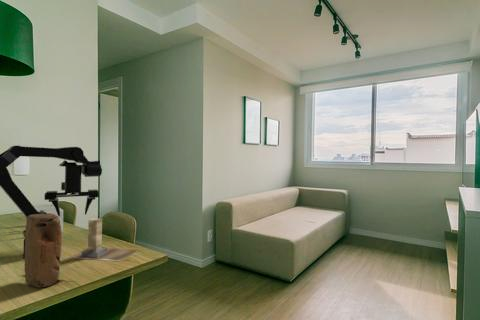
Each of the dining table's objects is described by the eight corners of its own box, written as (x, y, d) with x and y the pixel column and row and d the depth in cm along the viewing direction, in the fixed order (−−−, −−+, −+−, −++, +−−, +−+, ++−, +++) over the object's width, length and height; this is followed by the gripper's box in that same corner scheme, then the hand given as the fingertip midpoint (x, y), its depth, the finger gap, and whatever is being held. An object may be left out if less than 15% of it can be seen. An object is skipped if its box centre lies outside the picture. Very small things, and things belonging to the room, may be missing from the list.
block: (22, 280, 82) (23, 214, 82) (51, 272, 88) (52, 210, 88) (33, 292, 75) (34, 220, 75) (64, 283, 81) (65, 215, 81)
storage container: (62, 233, 132) (63, 210, 132) (34, 237, 125) (35, 213, 125) (52, 223, 151) (53, 203, 150) (27, 226, 143) (28, 205, 143)
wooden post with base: (81, 257, 98) (82, 220, 98) (92, 251, 104) (93, 217, 104) (97, 258, 97) (98, 221, 97) (107, 252, 103) (107, 218, 103)
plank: (67, 262, 97) (67, 257, 97) (89, 250, 109) (89, 246, 109) (121, 265, 95) (121, 261, 95) (137, 253, 107) (137, 249, 107)
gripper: (97, 175, 124) (96, 210, 124) (47, 176, 115) (46, 213, 115) (99, 177, 115) (98, 214, 115) (44, 178, 105) (44, 219, 105)
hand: (72, 215), depth 113 cm, fingers open, 9 cm apart
